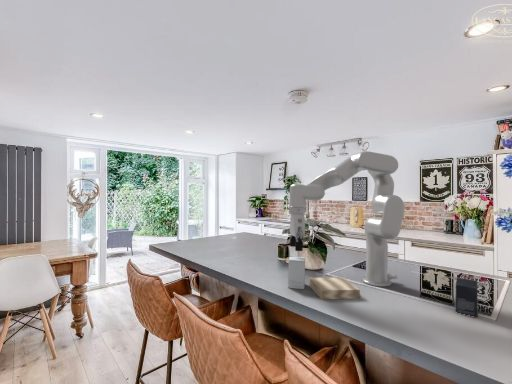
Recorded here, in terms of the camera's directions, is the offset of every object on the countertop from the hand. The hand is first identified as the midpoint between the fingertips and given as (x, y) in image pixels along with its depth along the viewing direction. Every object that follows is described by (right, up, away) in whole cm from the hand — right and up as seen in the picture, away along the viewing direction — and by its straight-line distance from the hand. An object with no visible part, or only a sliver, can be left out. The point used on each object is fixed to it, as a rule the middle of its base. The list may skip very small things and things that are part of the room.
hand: (296, 248), depth 121 cm
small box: (+59, -18, -24) cm, 66 cm away
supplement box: (0, -17, 0) cm, 17 cm away
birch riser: (+15, -17, -6) cm, 24 cm away
